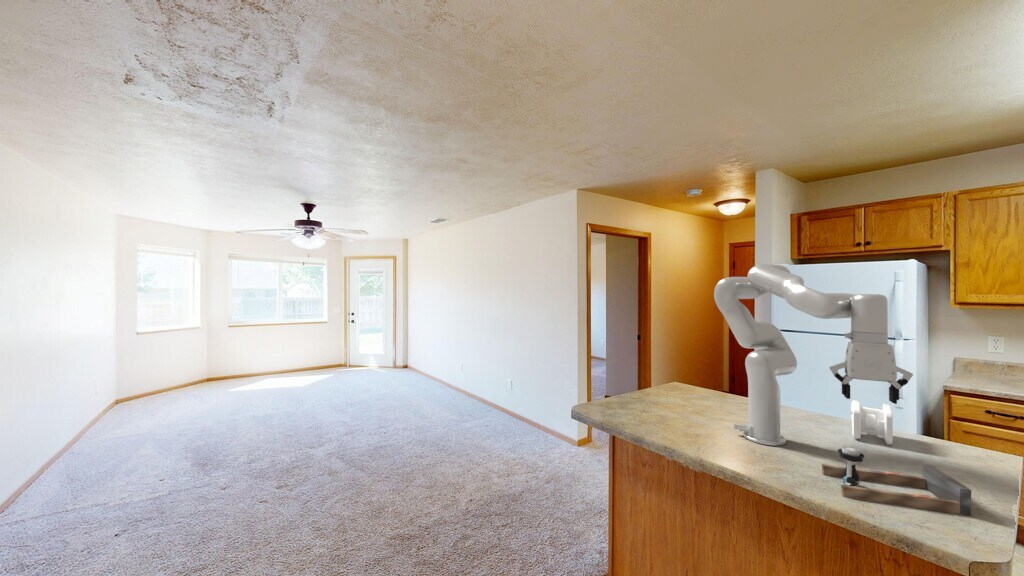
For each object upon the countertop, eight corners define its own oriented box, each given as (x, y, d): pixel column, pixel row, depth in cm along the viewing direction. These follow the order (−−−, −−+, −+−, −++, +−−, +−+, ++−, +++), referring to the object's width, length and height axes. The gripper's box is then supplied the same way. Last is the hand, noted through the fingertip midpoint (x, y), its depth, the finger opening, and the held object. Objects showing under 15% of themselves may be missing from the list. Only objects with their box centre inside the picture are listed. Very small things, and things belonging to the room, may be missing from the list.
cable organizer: (893, 448, 129) (893, 414, 129) (851, 440, 136) (851, 407, 136) (889, 435, 140) (889, 403, 140) (850, 428, 147) (850, 398, 147)
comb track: (843, 496, 100) (843, 473, 100) (821, 472, 112) (821, 452, 112) (971, 515, 91) (971, 490, 91) (932, 487, 104) (932, 465, 104)
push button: (859, 494, 100) (859, 456, 100) (833, 486, 105) (833, 449, 105) (866, 486, 104) (866, 449, 104) (841, 479, 109) (841, 443, 109)
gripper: (832, 338, 109) (833, 399, 108) (917, 342, 100) (918, 408, 100) (826, 335, 115) (827, 392, 115) (905, 338, 107) (906, 400, 107)
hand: (869, 399), depth 108 cm, fingers open, 9 cm apart
